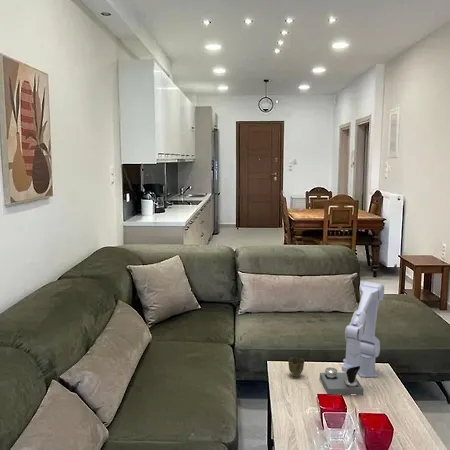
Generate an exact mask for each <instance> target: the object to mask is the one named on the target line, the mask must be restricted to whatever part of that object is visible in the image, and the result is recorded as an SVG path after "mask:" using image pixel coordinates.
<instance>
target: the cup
mask: <svg viewBox="0 0 450 450" xmlns="http://www.w3.org/2000/svg"><path fill="white" fill-rule="evenodd" d="M287 361H288V370H289V372H290V373H291V376H292V377H294V378H300V375H301V373H303V371H304V366H305V359H304V358H302V357H300V358H298V356H291V357H289V358H288V359H287Z"/></svg>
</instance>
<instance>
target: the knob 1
mask: <svg viewBox="0 0 450 450" xmlns="http://www.w3.org/2000/svg"><path fill="white" fill-rule="evenodd" d="M324 373H326V374H327V375H326V378H327V379H335V378H336V374H337V373H338V369H337V368H335V367H331V366H330V367H326V368H325V369H324Z"/></svg>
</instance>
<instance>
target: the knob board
mask: <svg viewBox="0 0 450 450" xmlns="http://www.w3.org/2000/svg"><path fill="white" fill-rule="evenodd" d="M326 375H327V374H326V373H325V372H319V380H320V382H321V384H322V386H323V388H324V390H325V392H326V394H327V395H328V394H341V395H340V396H352V395H351V394H356V395H355V396H363V395H364V388H363V386H362V385H361V383H360V382H359V380H358V379H357V377H356V378H355V380H356V381H357V386H356V387H347V386H346V385H345V380H346V379H348V377H347V373H346V372H337V374H336V378H335V379H327V378H326Z"/></svg>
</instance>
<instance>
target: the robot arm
mask: <svg viewBox="0 0 450 450" xmlns="http://www.w3.org/2000/svg"><path fill="white" fill-rule="evenodd" d="M359 294H360V300H359V303H358V308H357V309H356V310H355V311H353V314H352V317H351V320H350V321H349V324H348V325H346V327H345V330H344V337H345V339H344V340H345V342H346V345H345V358H343V359H342V362H343V365H342V366H341V371H342V372H343V373H345V372H346V373H347V377H348V381H349V382H351V383H353V382H354V381H355V378H356V379H357V375H359V376H360V378H378V374H377V373H376V372H375V371H376V358H378V357H379V355H380V352H381V340H380V339H379V338H378V337H377V336H376V335H375V334H376V327H377V319H378V311H379V304H380V302H382V301H384V296H385V285H384V283H378V282H372V281H371V282H370V281H366V280H362V281H361V282H360V285H359Z"/></svg>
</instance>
